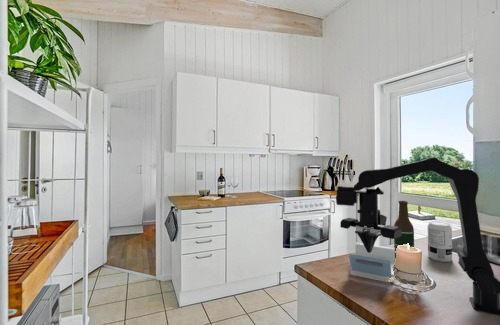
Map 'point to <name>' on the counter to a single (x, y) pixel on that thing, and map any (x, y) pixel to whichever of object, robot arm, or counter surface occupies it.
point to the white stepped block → (378, 253)
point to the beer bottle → (404, 226)
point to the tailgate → (370, 265)
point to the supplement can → (440, 241)
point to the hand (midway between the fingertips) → (369, 252)
